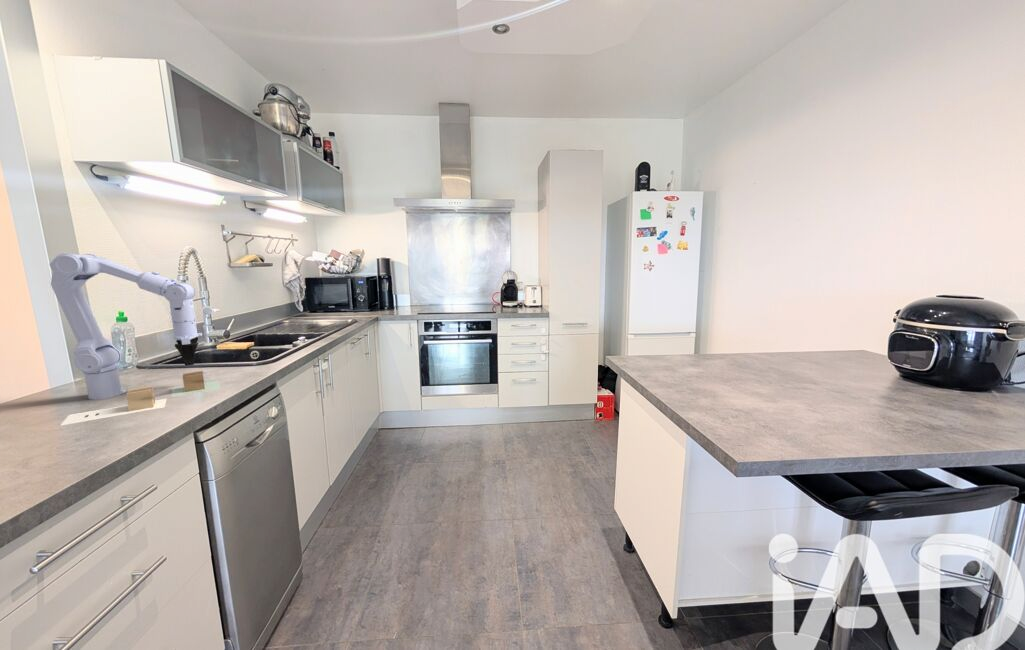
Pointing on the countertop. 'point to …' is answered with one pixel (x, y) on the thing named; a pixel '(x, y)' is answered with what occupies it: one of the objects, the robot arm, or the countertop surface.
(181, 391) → the sage pad
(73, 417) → the board
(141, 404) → the oak block
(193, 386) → the walnut block
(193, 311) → the robot arm
